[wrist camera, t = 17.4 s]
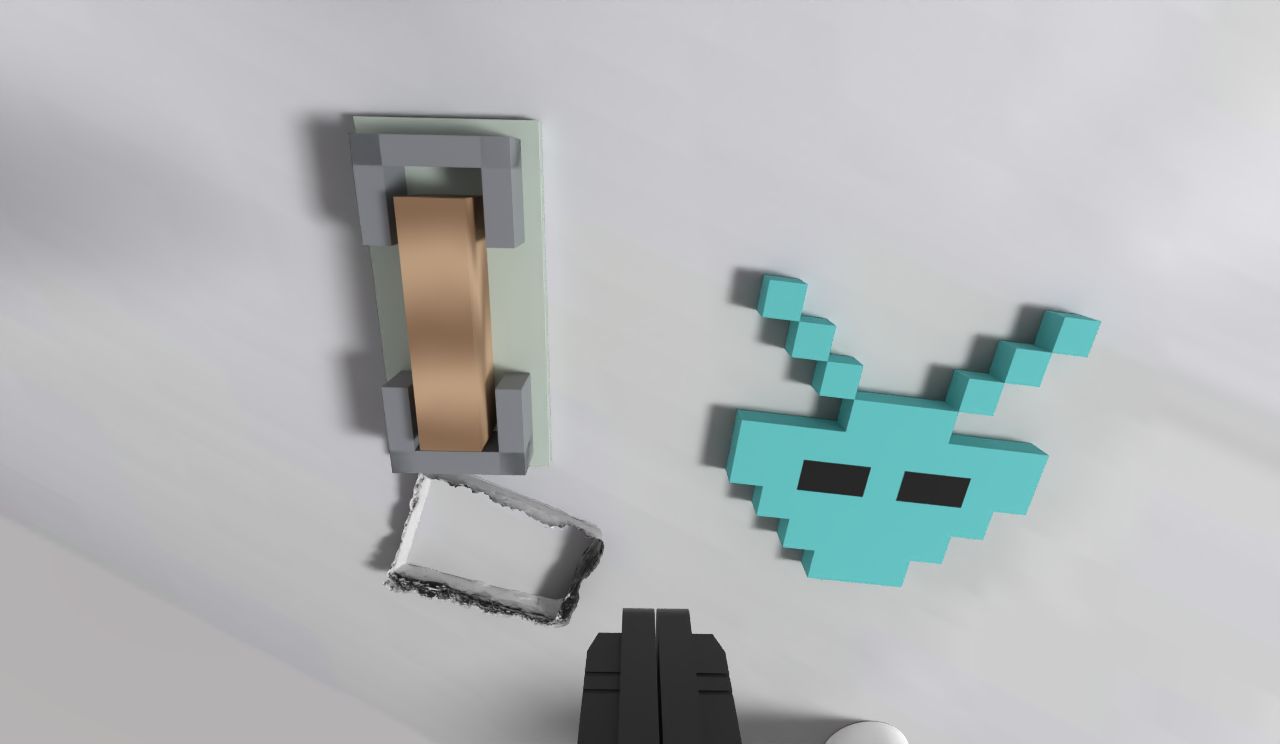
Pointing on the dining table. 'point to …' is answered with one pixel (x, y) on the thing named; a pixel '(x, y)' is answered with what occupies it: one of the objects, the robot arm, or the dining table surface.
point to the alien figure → (888, 453)
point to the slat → (448, 318)
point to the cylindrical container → (868, 734)
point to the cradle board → (509, 269)
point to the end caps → (502, 188)
